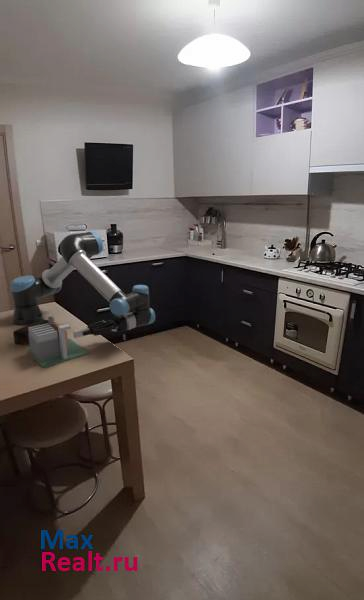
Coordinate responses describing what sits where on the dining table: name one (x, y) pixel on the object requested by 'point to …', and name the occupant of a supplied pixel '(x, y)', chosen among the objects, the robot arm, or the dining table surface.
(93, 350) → the dining table surface
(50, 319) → the hinge
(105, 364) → the dining table surface
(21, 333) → the beverage carton
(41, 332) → the heat sink
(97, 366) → the dining table surface
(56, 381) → the dining table surface
